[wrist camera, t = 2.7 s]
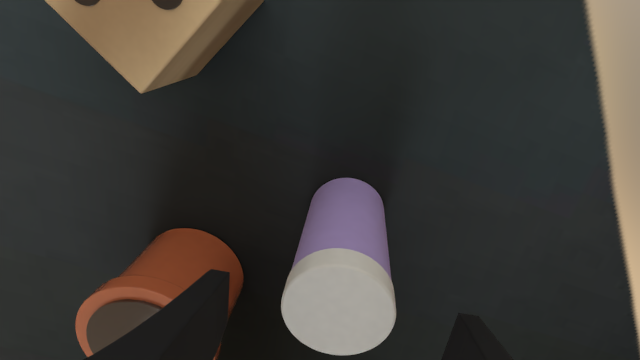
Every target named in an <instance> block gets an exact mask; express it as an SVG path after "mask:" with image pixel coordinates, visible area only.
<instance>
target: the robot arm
mask: <svg viewBox="0 0 640 360" xmlns="http://www.w3.org/2000/svg"><path fill="white" fill-rule="evenodd" d="M229 281H230V272H226V271H220V270H215V269H210V270H209V271H207V272H206V273H205V274H204V275H203V276H201V277H200V278H199V279H198V280H197V281H195V282H194V283H193V284H192V285H191V286H189V287H188V288H187V289H186V290H185V291H183V292H182V293H181V294H180V295H178V296H177V297H176V298H175V299H173V300H172V301H171V302H169V303H168V304H167V305H166V306H164V307H163V308H162V309H160V310H159V311H158V312H157V313H155V314H154V315H152V316H151V317H150V318H148V319H147V320H145V321H144V322H143V323H141V324H140V325H138V326H137V327H135V328H134V329H133V330H131V331H130V332H128V333H127V334H125V335H124V336H122V337H121V338H119V339H117V340H116V341H114V342H113V343H111V344H109V345H108V346H106V347H104V348H103V349H101V350H100V351H98V352H96V353H94V354H93V355H91V356H89V357H87V358H85V359H84V360H213V359H214V357H215V355H216V353H217V350H218V347H219V345H220V342H221V339H222V337H223V334H224V331H225V328H226V325H227V322H228V307H229ZM442 360H513V359H512V357H511V356H510V355H509V354H508V352H507V351H506V350H505V349H504V347H503V346H502V345H501V344H500V342H499V341H498V340H497V339H496V337H495V336H494V335H493V334H492V332H491V331H490V330H489V329H488V327H487V326H486V325H485V324H484V322H483V321H482V320H481V319H480V318H479V317H478V316H473V315H467V314H462V313H458V316H457V319H456V321H455V324H454V327H453V329H452V332H451V335H450V338H449V340H448V343H447V346H446V349H445V351H444V354H443V357H442Z"/></svg>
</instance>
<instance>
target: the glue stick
mask: <svg viewBox="0 0 640 360" xmlns="http://www.w3.org/2000/svg"><path fill="white" fill-rule="evenodd" d="M281 312H282V316H283V319H284V322H285V324H286V326H287V327H288V329H289V330H290V332H291V333H292V334H293V335H294V336H295V337H296V338H297V339H298V340H299V341H301V342H302V343H303V344H305V345H307V346H308V347H310V348H312V349H314V350H317V351H320V352H323V353H327V354H332V355H353V354H359V353H362V352H365V351H368V350H370V349H372V348H374V347H376V346H377V345H379V344H380V343H381V342H383V341H384V340H385V339H386V337H387V336H388V335H389V333H390V332H391V330H392V328H393V326H394V323H395V319H396V304H395V295H394V288H393V284H392V281H391V272H390V262H389V252H388V243H387V233H386V224H385V214H384V206H383V202H382V199H381V197H380V196H379V194H378V193H377V191H376V190H375V189H374V188H373V187H371V186H370V185H369V184H367V183H365V182H363V181H361V180H358V179H354V178H338V179H334V180H331V181H329V182H327V183H325V184H324V185H322V186H321V187H320V188H319V189H318V190H317V191H316V193H315V194H314V196H313V198H312V201H311V204H310V208H309V211H308V214H307V218H306V221H305V225H304V228H303V232H302V235H301V239H300V242H299V245H298V249H297V252H296V256H295V259H294V263H293V266H292V270H291V272H290V273H289V276H288V278H287V281H286V285H285V288H284V292H283V295H282V299H281Z"/></svg>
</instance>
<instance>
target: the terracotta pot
mask: <svg viewBox="0 0 640 360" xmlns="http://www.w3.org/2000/svg"><path fill="white" fill-rule="evenodd" d="M210 269H215V270H220V271H226V272H230V281H229V307H228V319H229V317H230V314H231V312H232V310H233V308H234V306H235V303H236V301H237V299H238V297H239V295H240V292H241V290H242V286H243V271H242V267H241V264H240V262H239V260H238V258H237V257H236V255H235V254H234V252H233V251H232V250H231V249H230V248H229V247H228V246H227V245H226V244H225V243H224V242H223V241H221V240H220V239H218V238H217V237H215V236H213V235H211V234H209V233H207V232H204V231H201V230H197V229H192V228H177V229H172V230H169V231H166V232H164V233H162V234H160V235H158V236H157V237H156V238H155V239H154V240H153V241H152V242H151V243H150V244H149V245H148V246H147V247H146V248H145V249H144V250H143V251H142V252H141V253H140V254H139V255H138V257H137V258H136V259H135V260H134V261H133V262H132V263H131V264H130V265H129V266H128V267H127V268H126V269H125V270H124V271H123V272H122V273H121V274H120V275H119V276H118V277H117V278H114V279H112V280H109V281H107V282H105V283H103V284H102V285H101V286H99V287H98V288H97V289H96V290H95V291H94V292H93V293H92V294H91V295H90V296H89V297H88V298H87V299H86V300H85V301H84V303H83V304H82V305H81V307H80V309H79V311H78V313H77V316H76V323H75V325H76V334H77V338H78V341H79V344H80V346H81V347H82V349H83V351H84V353H85V354H86V356H87V357H89V356H91V355H93V354H94V353H96V352H98V351H100V350H101V349H103V348H104V347H106V346H108V345H109V344H111V343H113V342H114V341H116V340H117V339H119V338H121V337H122V336H124V335H125V334H127V333H128V332H130V331H131V330H133V329H134V328H135V327H137V326H138V325H140V324H141V323H143V322H144V321H145V320H147V319H148V318H150V317H151V316H152V315H154V314H155V313H157V312H158V311H159V310H160V309H162V308H163V307H164V306H166V305H167V304H168V303H169V302H171V301H172V300H173V299H175V298H176V297H177V296H178V295H180V294H181V293H182V292H183V291H185V290H186V289H187V288H188V287H189V286H191V285H192V284H193V283H194V282H195V281H197V280H198V279H199V278H200V277H201V276H203V275H204V274H205V273H206V272H207V271H209V270H210ZM220 349H221V342H220V345H219V347H218V350H217V353H216V355H215V357H214V359H213V360H217V359H218V357H219V354H220Z"/></svg>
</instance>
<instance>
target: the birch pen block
mask: <svg viewBox="0 0 640 360" xmlns="http://www.w3.org/2000/svg"><path fill="white" fill-rule="evenodd" d="M45 1H46V2H47V3H48V4H49V5H50V6H51V7H52V8H53V9H54V10H55V11H56V12H57V13H58V14H59V15H60V16H61V17H62V18H63V19H64V20H65V21H66V22H67V23H68V24H70V25H71V26H72V27H73V28H74V29H75V30H76V31H77V32H78V33H79V34H80V35H81V36H82V37H83V38H84V39H85V40H86V41H87V42H88V43H89V44H90V45H91V46H92V47H93V48H94V49H95V50H96V51H97V52H98V53H99V54H100V55H101V56H102V57H103V58H104V59H106V60H107V61H108V62H109V63H110V64H111V65H112V66H113V67H114V68H115V69H116V70H117V71H118V72H119V73H120V74H121V75H122V76H123V77H124V78H125V79H126V80H127V81H128V82H129V83H130V84H131V85H132V86H133V87H134V88H135V89H136V90H137V91H138V92H140V93H145V92H148V91H151V90H154V89H157V88H160V87H163V86H166V85H169V84H172V83H175V82H178V81H181V80H184V79H187V78H190V77H193V76H196V75H197V74H198V73H199V72H200V71H201V70H202V69H203V68H204V67H205V65H206V64H207V63H208V62H209V61H210V60H211V59H212V58H213V57H214V55H215V54H216V53H217V52H218V51H219V50H220V49H221V48H222V47H223V46H224V44H225V43H226V42H227V41H228V40H229V39H230V38H231V37H232V36H233V35H234V33H235V32H236V31H237V30H238V29H239V28H240V27H241V26H242V25H243V24H244V22H245V21H246V20H247V19H248V18H249V17H250V16H251V15H252V14H253V13H254V11H255V10H256V9H257V8H258V7H259V6H260V5H261V4H262V3H263V1H264V0H45Z"/></svg>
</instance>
